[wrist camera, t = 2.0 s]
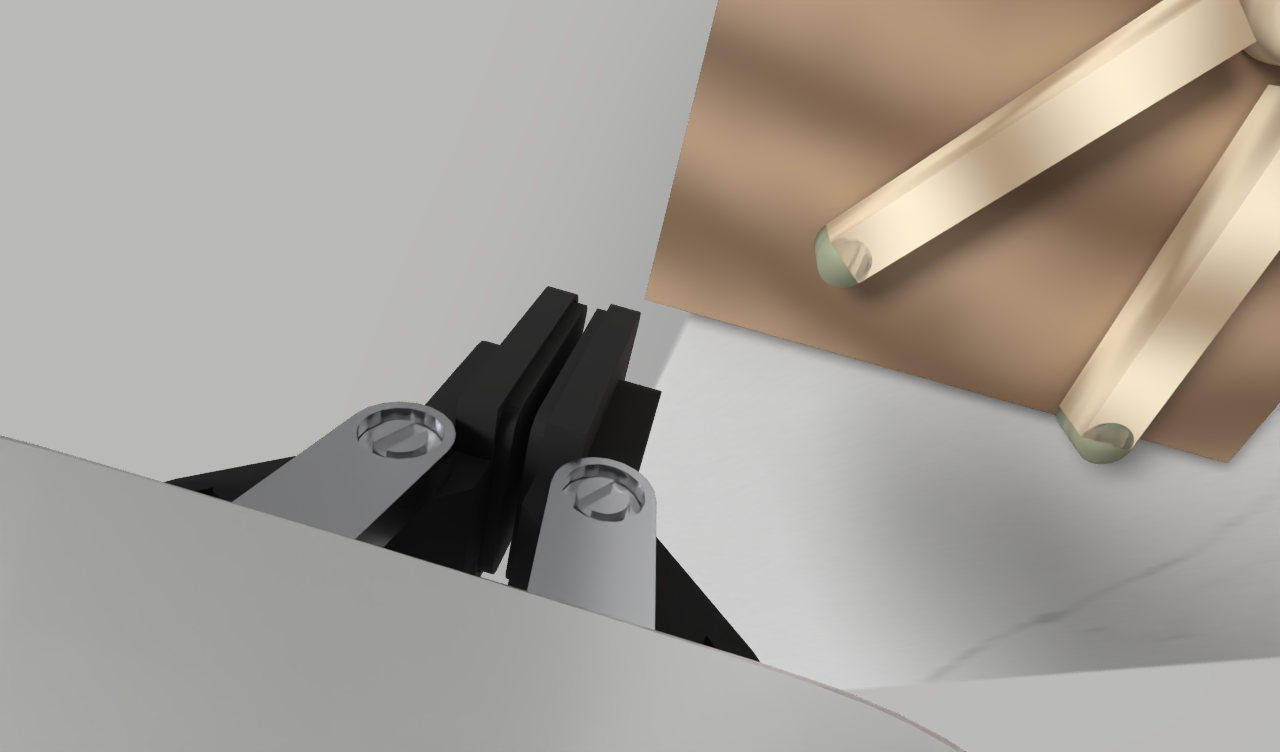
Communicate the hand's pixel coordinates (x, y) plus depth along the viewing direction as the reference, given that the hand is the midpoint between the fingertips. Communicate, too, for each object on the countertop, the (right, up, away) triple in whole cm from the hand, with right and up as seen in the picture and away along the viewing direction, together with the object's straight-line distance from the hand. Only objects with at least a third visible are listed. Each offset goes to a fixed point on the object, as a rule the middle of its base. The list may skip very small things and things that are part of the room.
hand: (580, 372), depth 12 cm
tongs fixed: (+19, +5, +11) cm, 23 cm away
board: (+15, +8, +12) cm, 21 cm away
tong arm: (+15, +8, +10) cm, 20 cm away
